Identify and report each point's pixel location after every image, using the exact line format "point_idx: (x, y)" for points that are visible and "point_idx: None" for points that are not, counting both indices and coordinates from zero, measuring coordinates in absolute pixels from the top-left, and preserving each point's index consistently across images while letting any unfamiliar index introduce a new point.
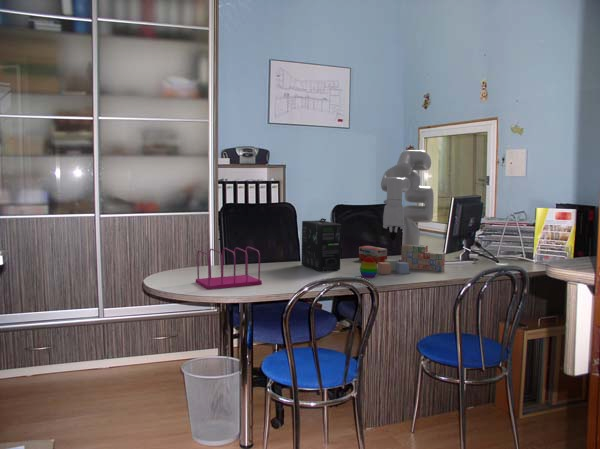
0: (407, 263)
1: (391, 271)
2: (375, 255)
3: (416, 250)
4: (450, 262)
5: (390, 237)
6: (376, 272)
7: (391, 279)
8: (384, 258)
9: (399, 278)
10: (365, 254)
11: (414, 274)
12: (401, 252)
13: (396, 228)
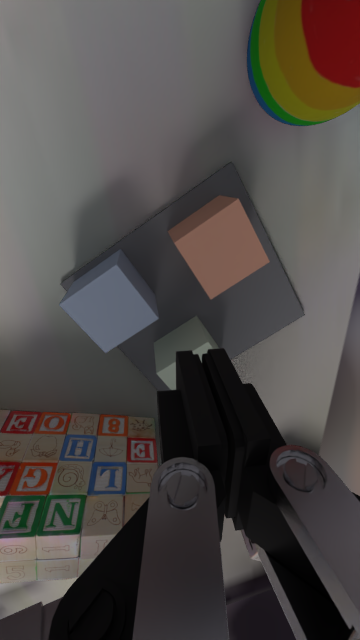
0: (69, 297)
1: (178, 302)
2: None
3: (59, 506)
4: None
5: (252, 387)
6: (251, 27)
7: (128, 31)
8: None
9: (86, 103)
10: None
11: (44, 287)
12: None
13: (175, 577)
